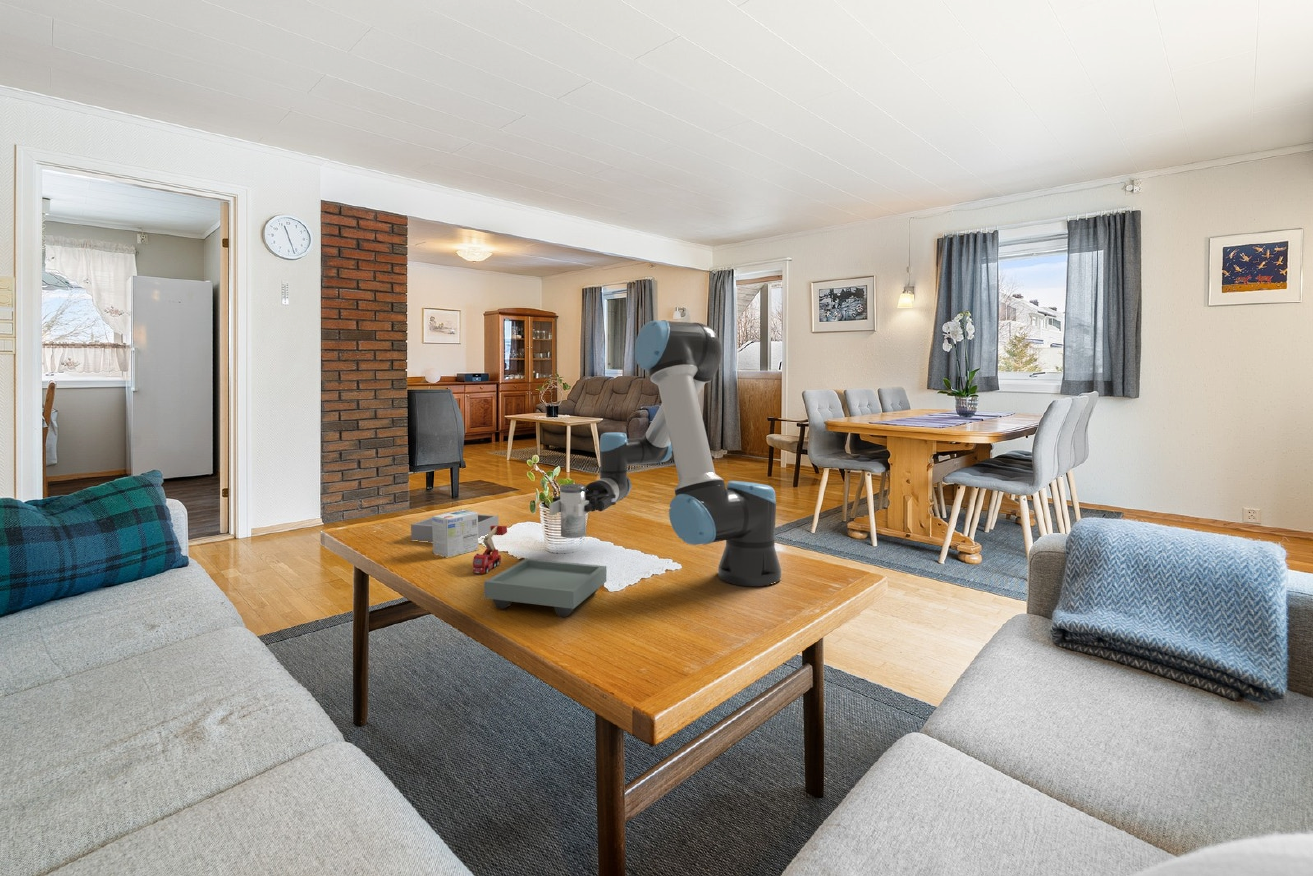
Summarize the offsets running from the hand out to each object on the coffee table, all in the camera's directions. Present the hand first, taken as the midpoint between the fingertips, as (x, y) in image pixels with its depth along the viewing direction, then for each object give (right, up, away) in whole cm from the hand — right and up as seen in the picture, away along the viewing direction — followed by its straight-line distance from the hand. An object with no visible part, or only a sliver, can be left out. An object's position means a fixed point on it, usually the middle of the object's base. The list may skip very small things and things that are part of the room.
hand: (564, 510), depth 152 cm
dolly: (-2, -18, -11) cm, 22 cm away
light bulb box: (-33, -15, +26) cm, 45 cm away
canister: (+1, -7, +5) cm, 9 cm away
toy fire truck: (-21, -16, +13) cm, 29 cm away
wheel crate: (-39, -13, +43) cm, 59 cm away
